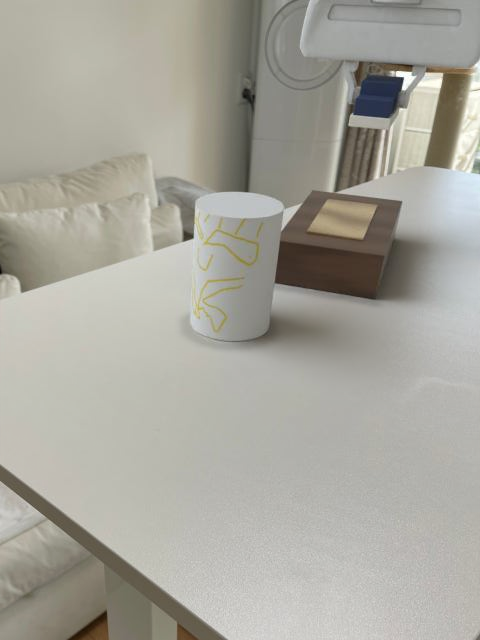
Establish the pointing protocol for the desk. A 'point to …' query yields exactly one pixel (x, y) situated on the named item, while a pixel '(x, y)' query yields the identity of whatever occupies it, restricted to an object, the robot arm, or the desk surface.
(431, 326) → the desk surface
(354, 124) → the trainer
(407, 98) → the robot arm
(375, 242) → the brown block
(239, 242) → the yellow doodled cylinder
